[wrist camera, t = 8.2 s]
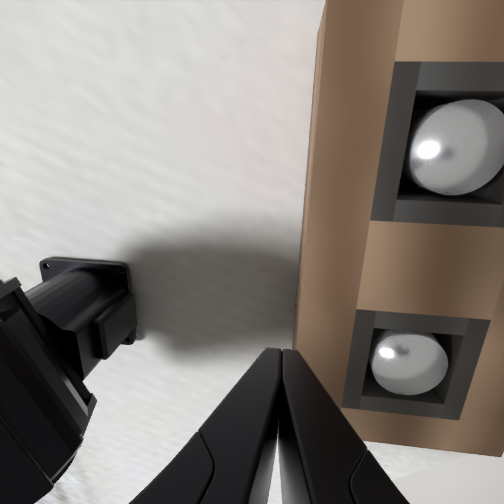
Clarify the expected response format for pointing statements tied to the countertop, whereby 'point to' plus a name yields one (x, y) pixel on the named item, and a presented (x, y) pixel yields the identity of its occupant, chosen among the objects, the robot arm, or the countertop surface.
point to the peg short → (454, 147)
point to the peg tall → (406, 360)
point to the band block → (402, 222)
